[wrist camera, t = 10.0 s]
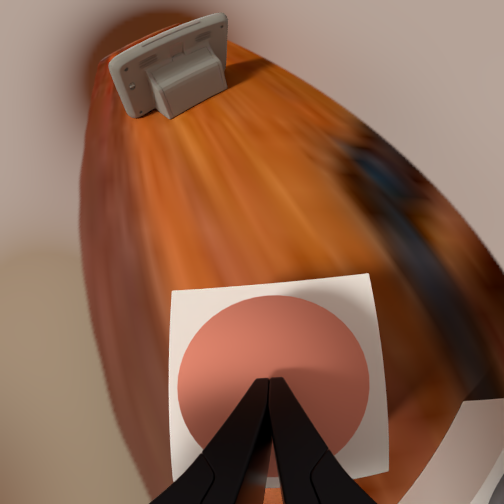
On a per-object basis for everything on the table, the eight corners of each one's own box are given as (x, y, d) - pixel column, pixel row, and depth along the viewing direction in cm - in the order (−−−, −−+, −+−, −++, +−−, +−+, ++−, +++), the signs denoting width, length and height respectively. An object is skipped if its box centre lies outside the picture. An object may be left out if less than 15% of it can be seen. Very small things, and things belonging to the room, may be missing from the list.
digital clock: (226, 66, 36) (213, 7, 27) (254, 86, 32) (241, 14, 23) (127, 109, 35) (99, 52, 25) (136, 137, 31) (100, 68, 21)
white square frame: (354, 443, 14) (388, 470, 8) (214, 452, 15) (173, 481, 9) (343, 313, 18) (368, 273, 12) (211, 324, 19) (171, 290, 13)
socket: (465, 526, 8) (509, 551, 1) (394, 507, 11) (434, 546, 5) (521, 433, 10) (576, 431, 4) (463, 400, 14) (525, 395, 7)
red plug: (337, 431, 14) (373, 464, 7) (229, 438, 14) (180, 472, 7) (329, 331, 17) (356, 286, 10) (225, 339, 17) (179, 301, 10)
